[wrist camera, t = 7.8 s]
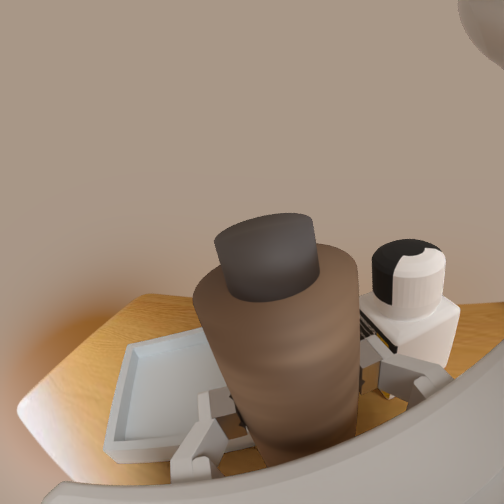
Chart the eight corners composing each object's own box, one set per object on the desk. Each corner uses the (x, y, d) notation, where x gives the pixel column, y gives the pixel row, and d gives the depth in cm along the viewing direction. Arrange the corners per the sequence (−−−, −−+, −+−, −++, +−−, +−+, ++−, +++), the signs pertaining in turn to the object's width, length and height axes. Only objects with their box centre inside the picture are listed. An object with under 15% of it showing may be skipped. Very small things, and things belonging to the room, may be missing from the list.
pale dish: (255, 330, 34) (250, 313, 33) (292, 435, 19) (289, 420, 18) (135, 359, 33) (127, 344, 32) (117, 463, 18) (102, 450, 17)
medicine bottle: (353, 355, 26) (347, 246, 22) (408, 330, 27) (413, 225, 22) (387, 402, 19) (401, 283, 15) (447, 367, 20) (470, 251, 16)
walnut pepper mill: (334, 411, 15) (310, 195, 11) (367, 469, 11) (391, 229, 6) (259, 436, 15) (180, 230, 10) (278, 501, 10) (169, 295, 5)
